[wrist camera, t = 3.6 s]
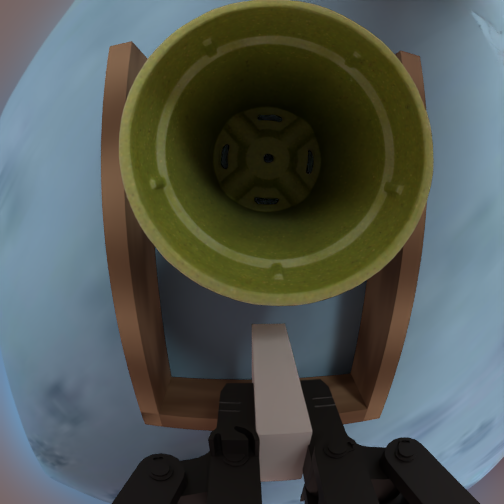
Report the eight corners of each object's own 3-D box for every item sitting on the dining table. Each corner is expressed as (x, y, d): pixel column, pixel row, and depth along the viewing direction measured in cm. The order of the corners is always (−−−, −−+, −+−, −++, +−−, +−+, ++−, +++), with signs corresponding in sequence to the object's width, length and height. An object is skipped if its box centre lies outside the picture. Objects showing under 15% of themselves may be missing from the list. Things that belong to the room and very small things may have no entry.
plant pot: (182, 241, 17) (126, 302, 8) (184, 81, 14) (132, 7, 6) (342, 243, 17) (417, 301, 8) (346, 87, 15) (421, 28, 6)
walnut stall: (136, 70, 14) (109, 46, 10) (388, 76, 14) (419, 56, 10) (158, 387, 19) (145, 424, 16) (362, 383, 20) (379, 418, 16)
